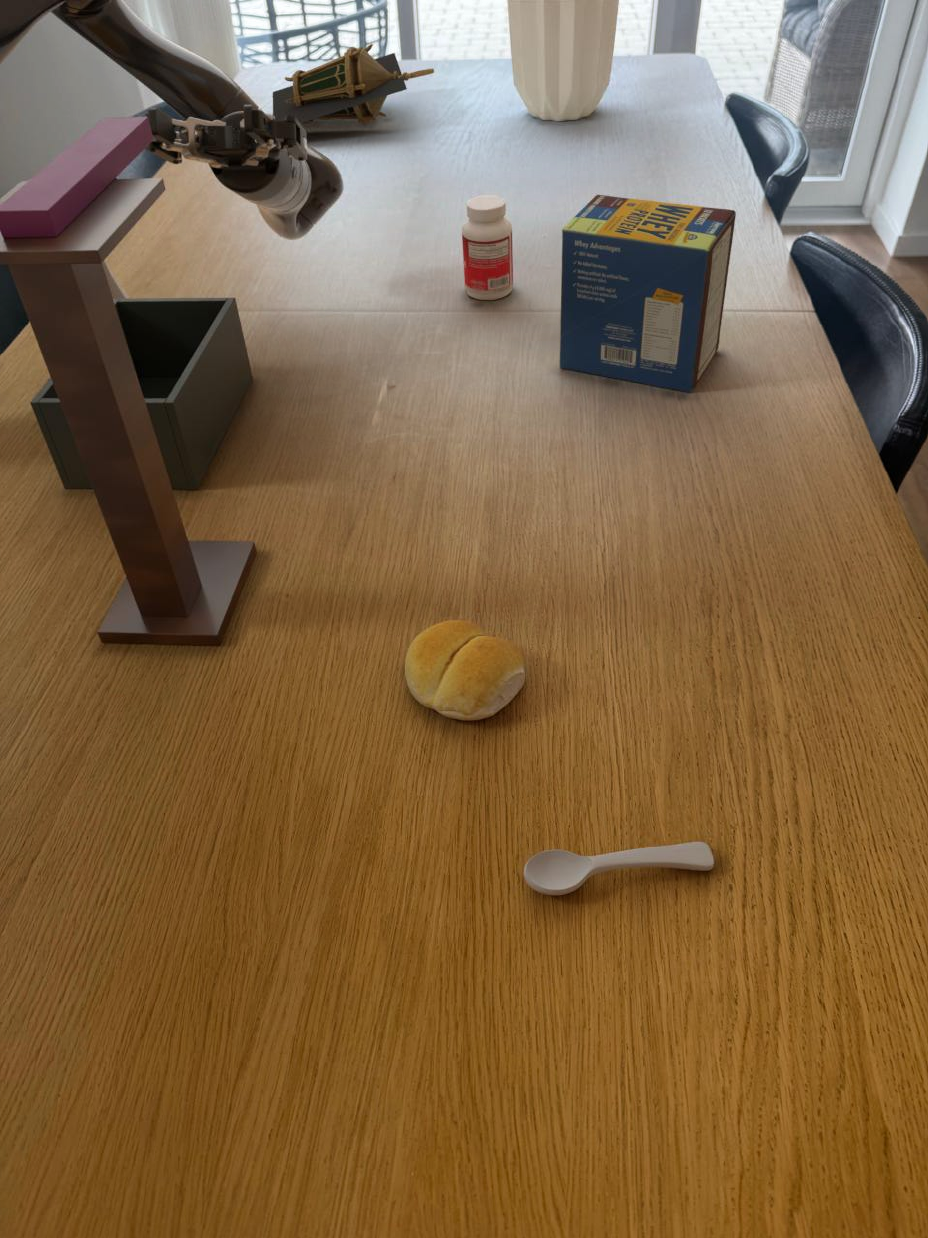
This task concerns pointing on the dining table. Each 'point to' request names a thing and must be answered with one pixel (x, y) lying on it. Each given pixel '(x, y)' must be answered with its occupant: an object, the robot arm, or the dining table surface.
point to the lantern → (343, 88)
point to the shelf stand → (121, 429)
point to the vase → (562, 54)
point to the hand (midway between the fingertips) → (200, 118)
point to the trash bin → (169, 384)
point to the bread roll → (463, 670)
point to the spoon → (608, 864)
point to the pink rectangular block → (74, 178)
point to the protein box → (644, 290)
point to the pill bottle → (487, 249)
